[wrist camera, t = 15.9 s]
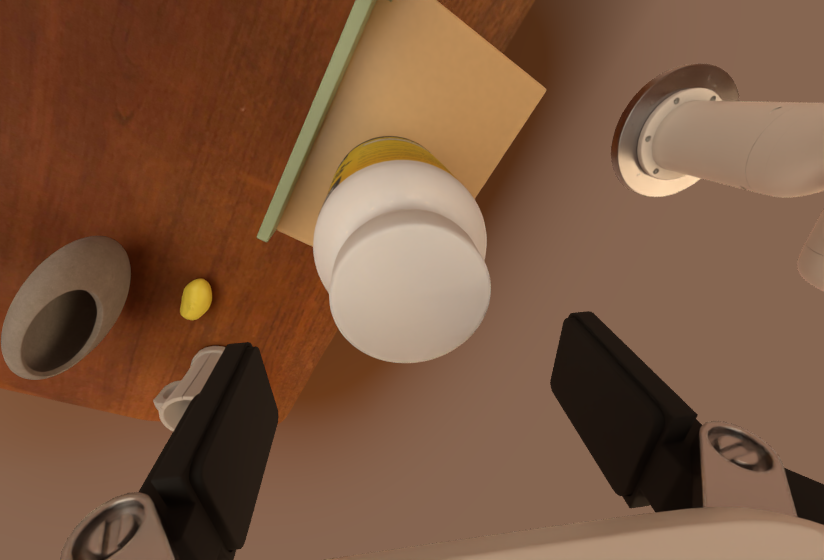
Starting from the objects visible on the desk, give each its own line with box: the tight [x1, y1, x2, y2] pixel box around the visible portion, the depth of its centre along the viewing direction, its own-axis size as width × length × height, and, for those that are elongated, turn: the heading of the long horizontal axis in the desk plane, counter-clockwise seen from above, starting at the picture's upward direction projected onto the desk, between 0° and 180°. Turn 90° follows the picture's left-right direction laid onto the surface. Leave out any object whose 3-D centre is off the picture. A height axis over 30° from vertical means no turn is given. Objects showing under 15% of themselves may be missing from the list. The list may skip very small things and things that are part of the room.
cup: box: [154, 346, 225, 431], centre depth 57 cm, size 10×9×12 cm
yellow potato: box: [180, 279, 212, 320], centre depth 54 cm, size 4×8×4 cm, turn 147°
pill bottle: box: [313, 136, 491, 363], centre depth 15 cm, size 6×6×12 cm
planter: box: [1, 236, 131, 380], centre depth 44 cm, size 18×7×19 cm, turn 154°
